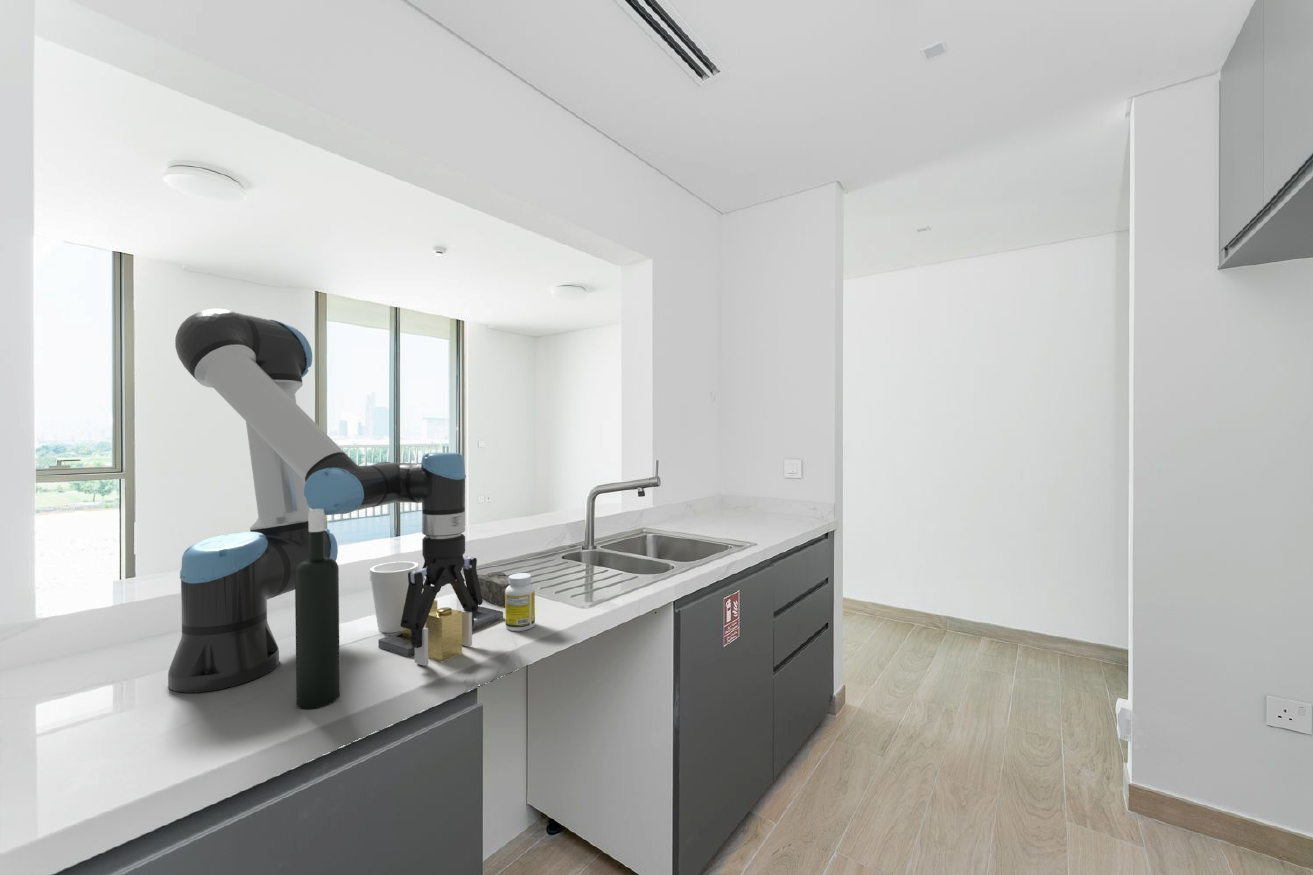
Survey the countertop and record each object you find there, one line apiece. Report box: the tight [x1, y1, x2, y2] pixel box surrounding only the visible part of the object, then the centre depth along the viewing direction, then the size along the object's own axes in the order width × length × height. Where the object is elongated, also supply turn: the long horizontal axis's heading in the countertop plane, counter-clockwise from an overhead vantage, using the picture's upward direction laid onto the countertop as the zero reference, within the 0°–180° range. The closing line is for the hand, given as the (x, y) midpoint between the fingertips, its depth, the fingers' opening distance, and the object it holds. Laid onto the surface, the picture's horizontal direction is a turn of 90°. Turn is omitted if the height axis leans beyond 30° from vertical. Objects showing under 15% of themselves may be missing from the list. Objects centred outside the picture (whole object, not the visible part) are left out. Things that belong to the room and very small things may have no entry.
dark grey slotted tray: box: [377, 605, 504, 658], centre depth 114 cm, size 24×9×2 cm, turn 150°
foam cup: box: [369, 560, 420, 634], centre depth 117 cm, size 10×9×13 cm
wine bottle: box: [294, 508, 341, 710], centre depth 85 cm, size 6×6×30 cm
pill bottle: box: [504, 572, 536, 632], centre depth 117 cm, size 6×6×11 cm
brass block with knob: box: [402, 599, 438, 641], centre depth 109 cm, size 4×4×9 cm
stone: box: [477, 571, 510, 607], centre depth 136 cm, size 14×7×10 cm, turn 59°
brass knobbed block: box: [426, 607, 463, 663], centre depth 102 cm, size 4×4×9 cm
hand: (444, 653), depth 102 cm, fingers open, 9 cm apart
